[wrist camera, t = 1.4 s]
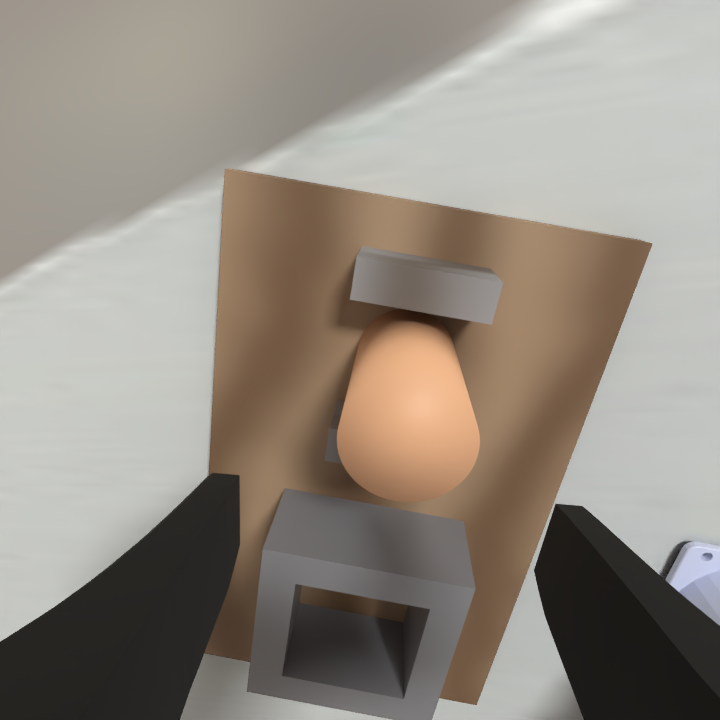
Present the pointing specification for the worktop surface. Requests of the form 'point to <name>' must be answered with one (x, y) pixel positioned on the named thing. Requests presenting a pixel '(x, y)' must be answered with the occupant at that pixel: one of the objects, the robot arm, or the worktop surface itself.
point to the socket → (356, 631)
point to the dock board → (337, 356)
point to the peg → (407, 411)
